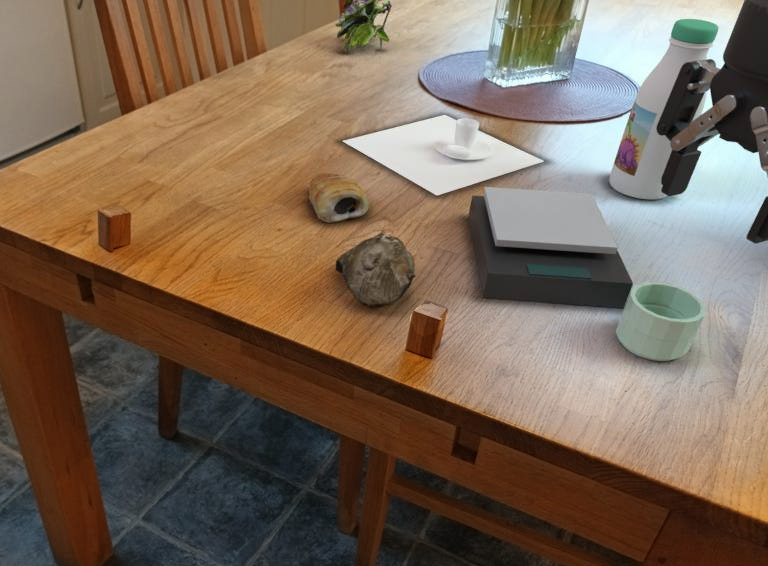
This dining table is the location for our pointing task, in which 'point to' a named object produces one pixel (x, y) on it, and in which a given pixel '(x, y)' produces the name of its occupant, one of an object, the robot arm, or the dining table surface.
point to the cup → (660, 321)
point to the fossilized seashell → (377, 270)
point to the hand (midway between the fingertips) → (712, 215)
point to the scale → (546, 248)
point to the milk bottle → (657, 113)
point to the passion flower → (362, 23)
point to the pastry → (337, 197)
